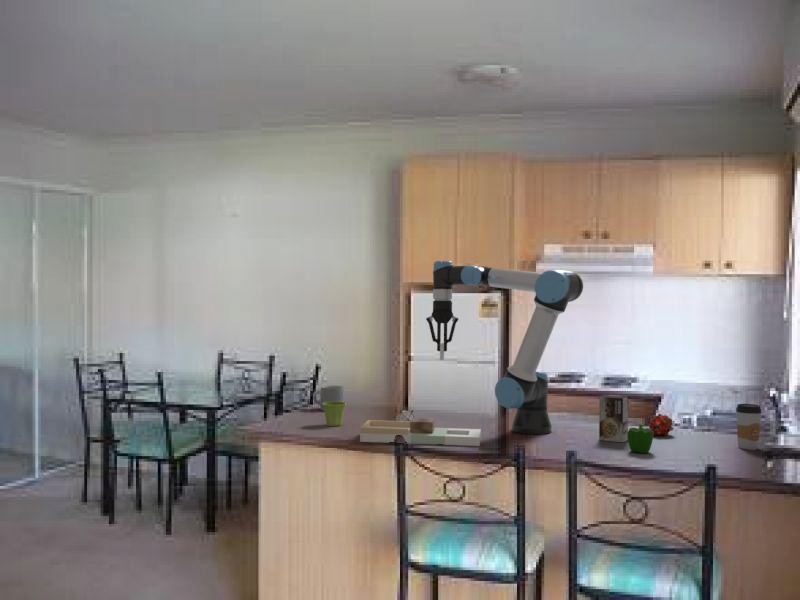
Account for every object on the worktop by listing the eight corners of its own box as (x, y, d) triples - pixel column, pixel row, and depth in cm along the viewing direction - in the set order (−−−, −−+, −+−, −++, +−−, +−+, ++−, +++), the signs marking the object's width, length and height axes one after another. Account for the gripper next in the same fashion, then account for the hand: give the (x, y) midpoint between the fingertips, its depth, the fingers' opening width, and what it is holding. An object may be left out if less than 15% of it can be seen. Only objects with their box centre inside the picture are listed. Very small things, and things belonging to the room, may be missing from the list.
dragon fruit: (668, 437, 307) (657, 446, 297) (649, 422, 310) (638, 431, 301) (680, 421, 303) (670, 430, 293) (662, 406, 306) (651, 415, 297)
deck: (480, 437, 293) (480, 423, 293) (479, 446, 277) (479, 431, 277) (367, 433, 299) (367, 420, 299) (360, 441, 283) (360, 427, 283)
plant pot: (343, 427, 310) (343, 405, 310) (319, 426, 312) (319, 404, 311) (348, 423, 319) (348, 401, 319) (325, 422, 321) (325, 401, 321)
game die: (403, 441, 304) (392, 421, 300) (397, 429, 312) (387, 410, 307) (423, 429, 304) (413, 410, 300) (418, 418, 312) (407, 399, 308)
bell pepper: (628, 448, 276) (628, 419, 276) (653, 450, 273) (653, 421, 273) (625, 453, 268) (626, 423, 268) (651, 455, 265) (652, 425, 265)
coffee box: (628, 440, 291) (629, 396, 291) (622, 443, 286) (623, 398, 286) (604, 437, 296) (605, 393, 296) (598, 440, 291) (598, 395, 291)
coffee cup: (746, 451, 274) (747, 407, 274) (729, 446, 282) (730, 403, 282) (766, 449, 277) (767, 406, 276) (749, 445, 285) (750, 403, 284)
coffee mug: (346, 408, 359) (346, 386, 358) (338, 411, 349) (338, 388, 349) (318, 406, 362) (318, 384, 362) (310, 410, 353) (310, 387, 353)
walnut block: (434, 429, 291) (434, 418, 291) (432, 433, 283) (432, 422, 283) (412, 428, 292) (412, 417, 292) (410, 432, 284) (410, 421, 284)
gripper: (459, 300, 318) (458, 359, 319) (426, 299, 320) (426, 358, 320) (458, 300, 311) (458, 360, 311) (425, 300, 312) (424, 360, 313)
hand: (441, 359), depth 316 cm, fingers closed
